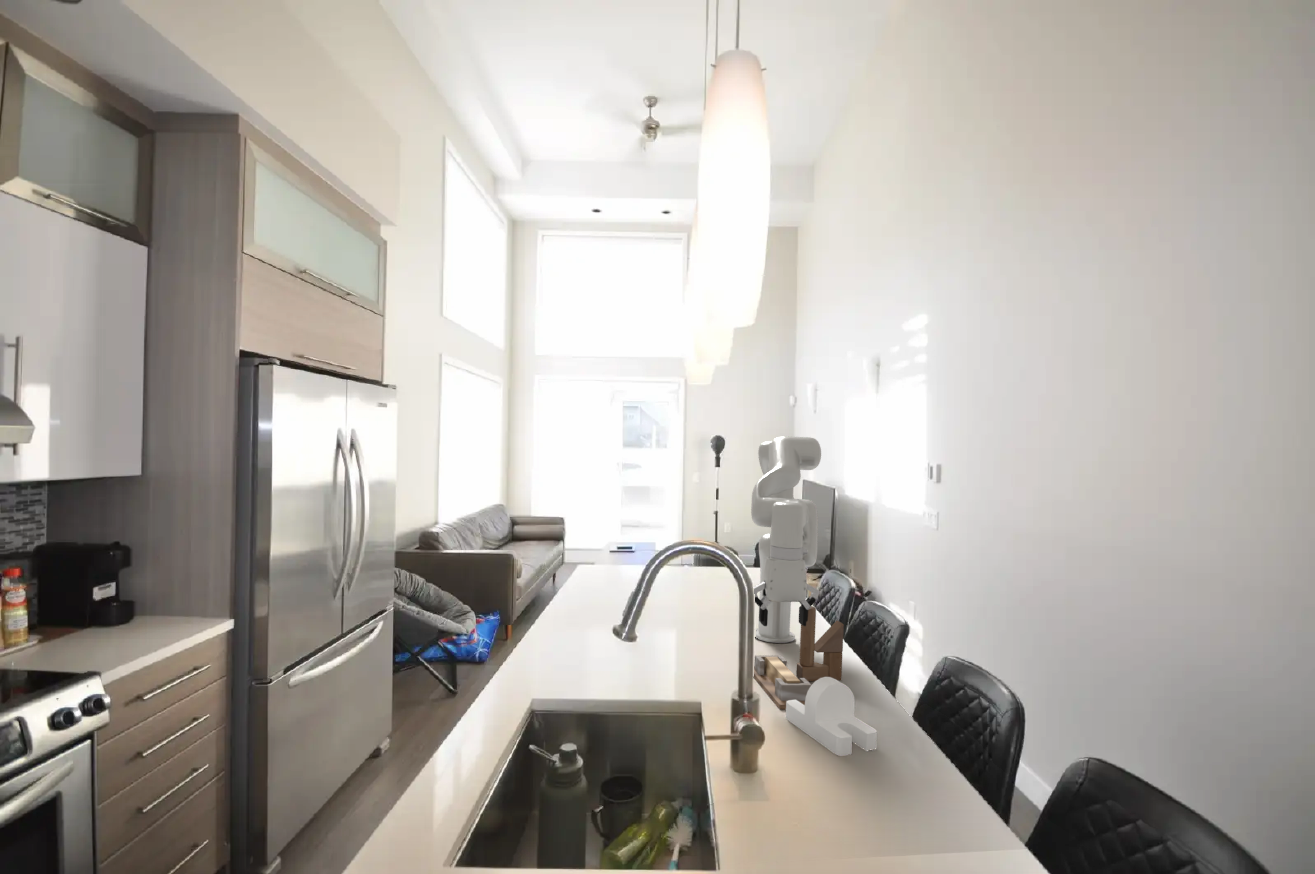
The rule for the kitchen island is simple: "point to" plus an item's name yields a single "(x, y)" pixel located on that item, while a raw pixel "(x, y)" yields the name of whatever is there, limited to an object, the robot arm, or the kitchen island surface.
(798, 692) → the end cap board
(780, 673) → the oak slat
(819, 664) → the wooden block
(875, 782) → the kitchen island surface
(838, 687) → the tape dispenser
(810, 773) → the kitchen island surface
